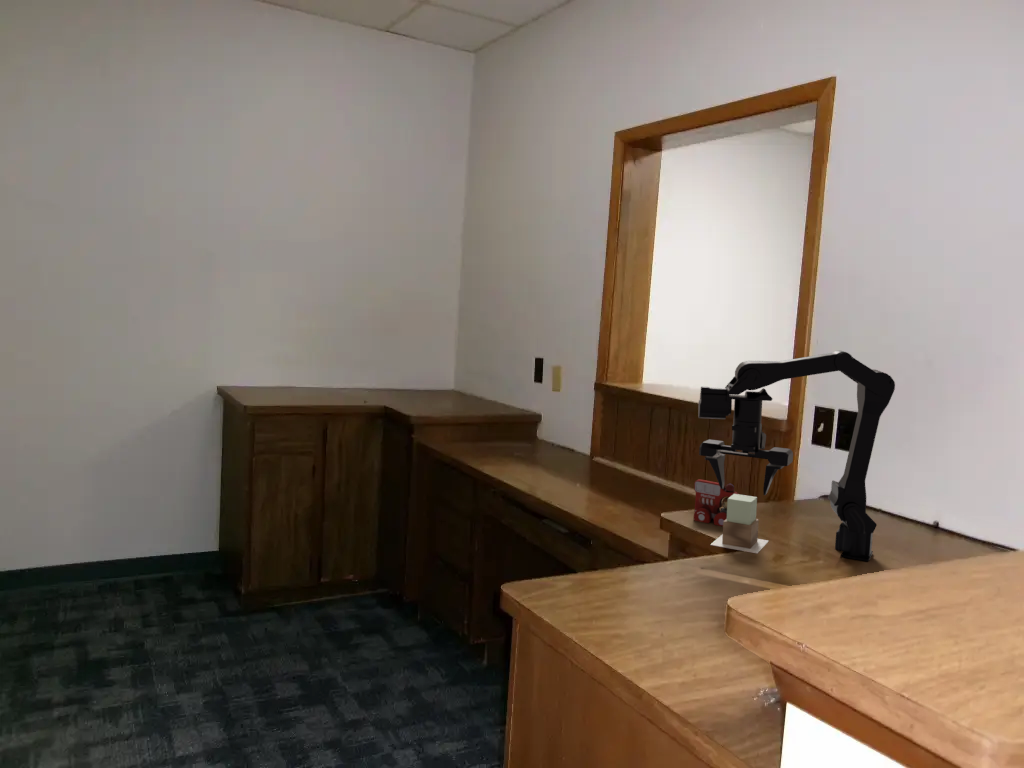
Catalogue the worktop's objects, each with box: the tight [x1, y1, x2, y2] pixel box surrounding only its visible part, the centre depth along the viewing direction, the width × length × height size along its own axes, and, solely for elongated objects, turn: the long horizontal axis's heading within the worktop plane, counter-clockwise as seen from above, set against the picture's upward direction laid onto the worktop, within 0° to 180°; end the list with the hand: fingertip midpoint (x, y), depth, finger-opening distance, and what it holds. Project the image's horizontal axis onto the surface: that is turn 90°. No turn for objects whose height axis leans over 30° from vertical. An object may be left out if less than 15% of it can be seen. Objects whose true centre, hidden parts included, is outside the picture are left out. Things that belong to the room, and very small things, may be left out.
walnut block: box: [722, 518, 760, 549], centre depth 173 cm, size 6×6×5 cm
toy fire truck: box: [693, 478, 739, 527], centre depth 189 cm, size 7×12×10 cm, turn 52°
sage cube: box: [727, 493, 758, 525], centre depth 173 cm, size 5×5×5 cm
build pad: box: [710, 533, 769, 554], centre depth 174 cm, size 10×10×1 cm
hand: (743, 491), depth 172 cm, fingers open, 9 cm apart
